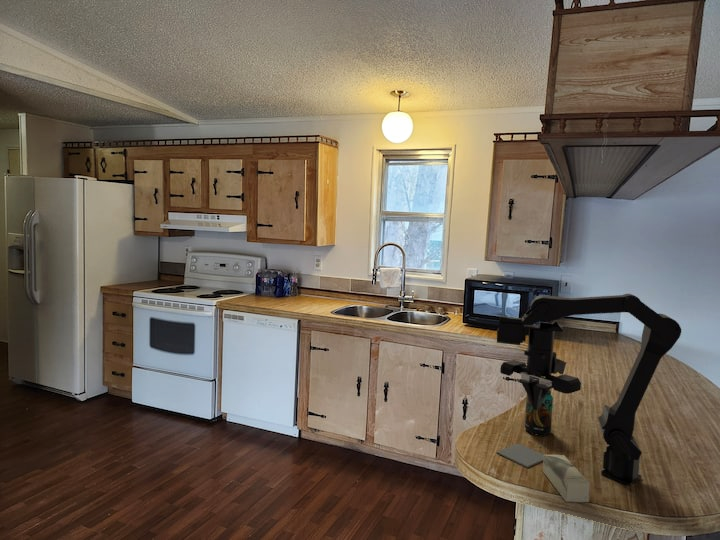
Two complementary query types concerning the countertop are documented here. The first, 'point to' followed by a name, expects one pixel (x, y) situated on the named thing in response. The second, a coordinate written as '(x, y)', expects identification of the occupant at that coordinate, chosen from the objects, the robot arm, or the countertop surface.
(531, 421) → the beverage can
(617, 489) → the countertop surface
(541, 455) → the mat
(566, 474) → the box
